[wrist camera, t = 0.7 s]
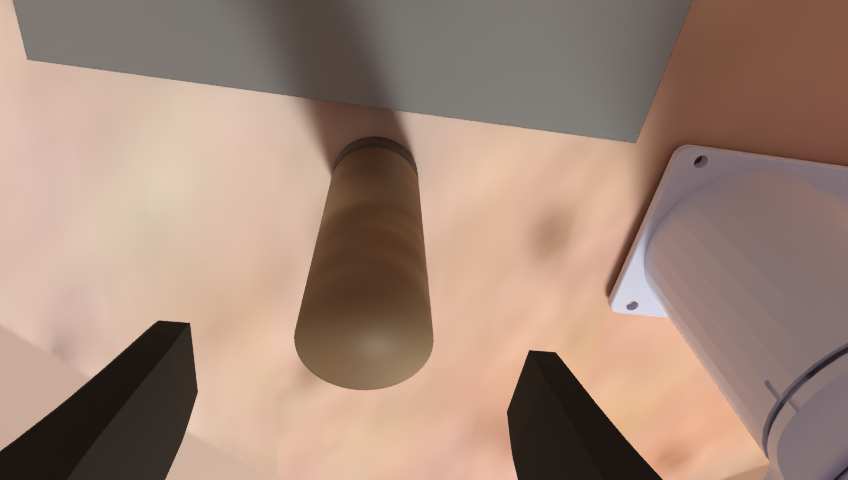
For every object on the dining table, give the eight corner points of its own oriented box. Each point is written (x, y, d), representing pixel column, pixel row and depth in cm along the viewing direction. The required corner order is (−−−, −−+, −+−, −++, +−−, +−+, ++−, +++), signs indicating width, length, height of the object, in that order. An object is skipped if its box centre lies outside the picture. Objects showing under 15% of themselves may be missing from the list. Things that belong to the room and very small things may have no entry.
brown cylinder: (423, 142, 19) (444, 294, 11) (411, 217, 20) (422, 394, 13) (336, 131, 18) (296, 280, 11) (330, 208, 20) (292, 385, 12)
